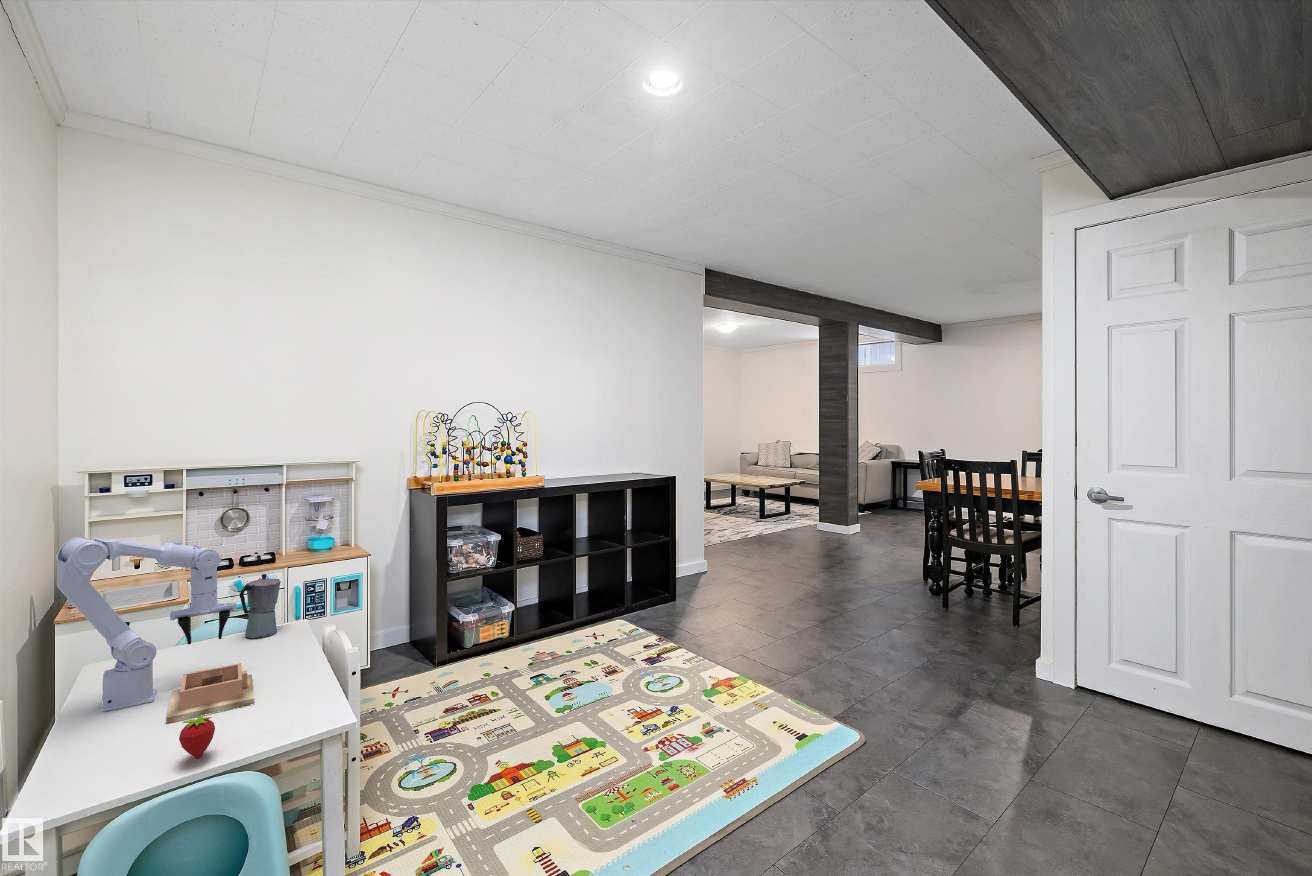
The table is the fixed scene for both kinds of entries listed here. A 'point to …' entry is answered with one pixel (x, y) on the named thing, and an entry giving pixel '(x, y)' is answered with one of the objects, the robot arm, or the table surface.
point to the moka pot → (261, 606)
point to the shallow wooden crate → (212, 687)
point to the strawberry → (197, 735)
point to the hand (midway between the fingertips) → (204, 640)
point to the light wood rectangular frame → (177, 715)
